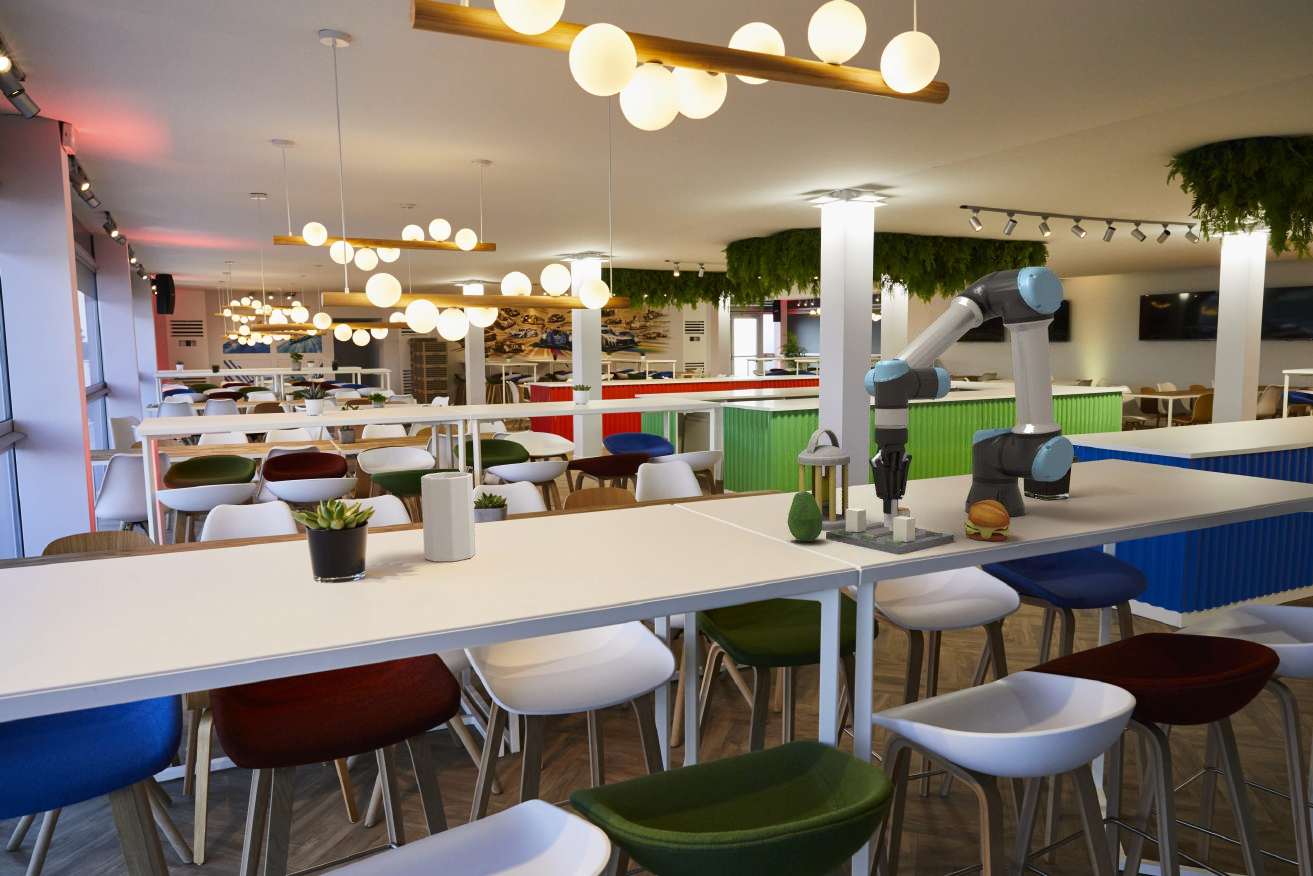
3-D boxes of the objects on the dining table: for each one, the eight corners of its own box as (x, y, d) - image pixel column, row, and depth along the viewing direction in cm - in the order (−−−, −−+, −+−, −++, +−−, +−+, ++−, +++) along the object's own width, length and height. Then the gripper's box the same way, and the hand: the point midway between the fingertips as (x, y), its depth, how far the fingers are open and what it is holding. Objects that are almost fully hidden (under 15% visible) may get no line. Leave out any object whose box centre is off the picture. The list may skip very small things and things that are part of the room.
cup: (422, 554, 188) (418, 473, 186) (472, 549, 192) (468, 470, 190) (427, 564, 178) (423, 479, 176) (479, 559, 182) (476, 476, 180)
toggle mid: (897, 528, 197) (897, 506, 197) (909, 531, 195) (910, 508, 194) (889, 530, 196) (889, 507, 195) (901, 532, 193) (901, 509, 192)
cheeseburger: (1001, 532, 199) (1006, 494, 196) (1015, 552, 189) (1020, 512, 186) (958, 531, 200) (962, 493, 197) (970, 551, 190) (974, 512, 187)
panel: (881, 527, 207) (881, 519, 207) (953, 541, 190) (954, 532, 190) (825, 538, 196) (825, 529, 196) (898, 554, 179) (898, 544, 179)
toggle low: (854, 528, 199) (854, 507, 198) (865, 530, 196) (866, 509, 196) (845, 529, 197) (845, 509, 197) (857, 532, 194) (857, 511, 194)
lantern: (827, 533, 203) (827, 431, 200) (784, 525, 214) (783, 429, 211) (863, 525, 212) (863, 428, 209) (819, 517, 222) (819, 425, 220)
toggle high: (901, 537, 188) (901, 515, 187) (914, 540, 185) (915, 518, 184) (893, 539, 186) (893, 517, 185) (906, 542, 183) (906, 519, 182)
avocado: (795, 537, 199) (795, 487, 198) (826, 540, 195) (826, 489, 194) (782, 543, 192) (782, 492, 191) (815, 546, 188) (814, 494, 187)
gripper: (896, 424, 198) (895, 521, 200) (859, 427, 190) (859, 528, 192) (922, 425, 192) (921, 525, 194) (885, 429, 184) (885, 533, 186)
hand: (890, 526), depth 193 cm, fingers closed
